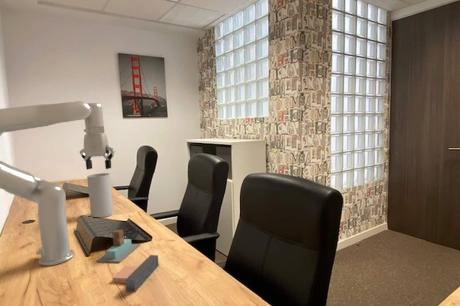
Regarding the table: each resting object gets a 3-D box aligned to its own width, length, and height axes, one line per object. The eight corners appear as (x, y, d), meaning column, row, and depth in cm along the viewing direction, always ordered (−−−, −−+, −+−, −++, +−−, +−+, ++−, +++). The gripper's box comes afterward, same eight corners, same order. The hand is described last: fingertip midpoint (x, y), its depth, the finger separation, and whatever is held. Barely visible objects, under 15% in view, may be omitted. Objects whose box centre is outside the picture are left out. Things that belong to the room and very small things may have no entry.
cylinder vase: (86, 218, 170) (82, 177, 167) (100, 211, 182) (96, 173, 179) (104, 218, 167) (100, 176, 164) (117, 212, 179) (114, 173, 176)
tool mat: (96, 261, 112) (96, 260, 112) (119, 244, 128) (119, 243, 128) (119, 262, 110) (119, 261, 110) (140, 245, 126) (140, 244, 126)
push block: (106, 258, 114) (104, 236, 113) (123, 245, 125) (121, 225, 124) (115, 258, 113) (113, 236, 112) (131, 245, 125) (129, 225, 124)
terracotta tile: (113, 283, 97) (112, 277, 97) (125, 271, 105) (125, 266, 105) (134, 284, 95) (134, 278, 95) (145, 272, 103) (145, 266, 103)
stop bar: (126, 291, 91) (125, 279, 90) (151, 265, 107) (150, 255, 107) (135, 292, 90) (134, 280, 90) (158, 265, 107) (157, 255, 106)
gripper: (72, 132, 125) (76, 170, 127) (107, 130, 122) (111, 169, 124) (84, 131, 133) (87, 167, 134) (117, 129, 129) (120, 167, 131)
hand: (98, 168), depth 129 cm, fingers open, 9 cm apart
